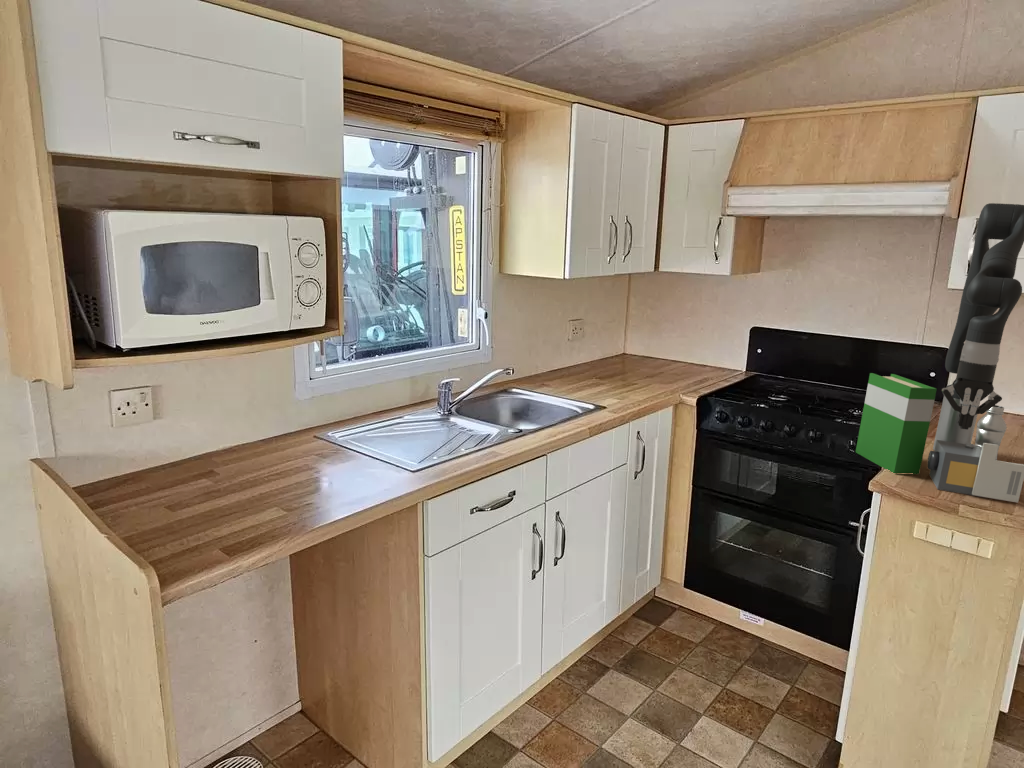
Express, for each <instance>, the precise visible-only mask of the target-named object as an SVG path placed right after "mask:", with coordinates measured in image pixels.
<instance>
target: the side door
mask: <svg viewBox="0 0 1024 768" xmlns="http://www.w3.org/2000/svg"><path fill="white" fill-rule="evenodd" d="M997 451H998V452H999V450H998V445H996V444H989V443H983V446H982V450H981V455H980V459H979V464H978V468H977V472H976V477H975V481H974V485H973V490H972V495H971V496H974V495H976V497H980V496H982V497H981V498H989V499H994V500H1000V501H1007V502H1012V503H1019V500H1020V496H1021V492H1022V488H1023V483H1024V464H1023V463H1015V462H1010V461H1009V462H1007V461H1002V460H998V459H997V460H995V459H996V455H997ZM997 456H998V455H997Z"/></svg>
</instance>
